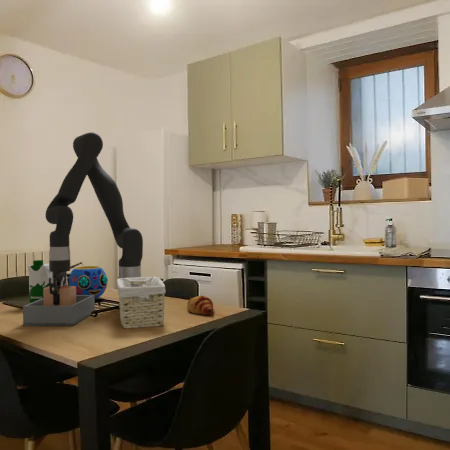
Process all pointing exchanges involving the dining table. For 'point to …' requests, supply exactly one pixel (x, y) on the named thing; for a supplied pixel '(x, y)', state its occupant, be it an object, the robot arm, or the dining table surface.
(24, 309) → the big crate
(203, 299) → the croissant
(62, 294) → the small crate
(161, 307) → the storage basket
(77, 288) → the ceramic pot
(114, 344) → the dining table surface
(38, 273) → the milk carton
